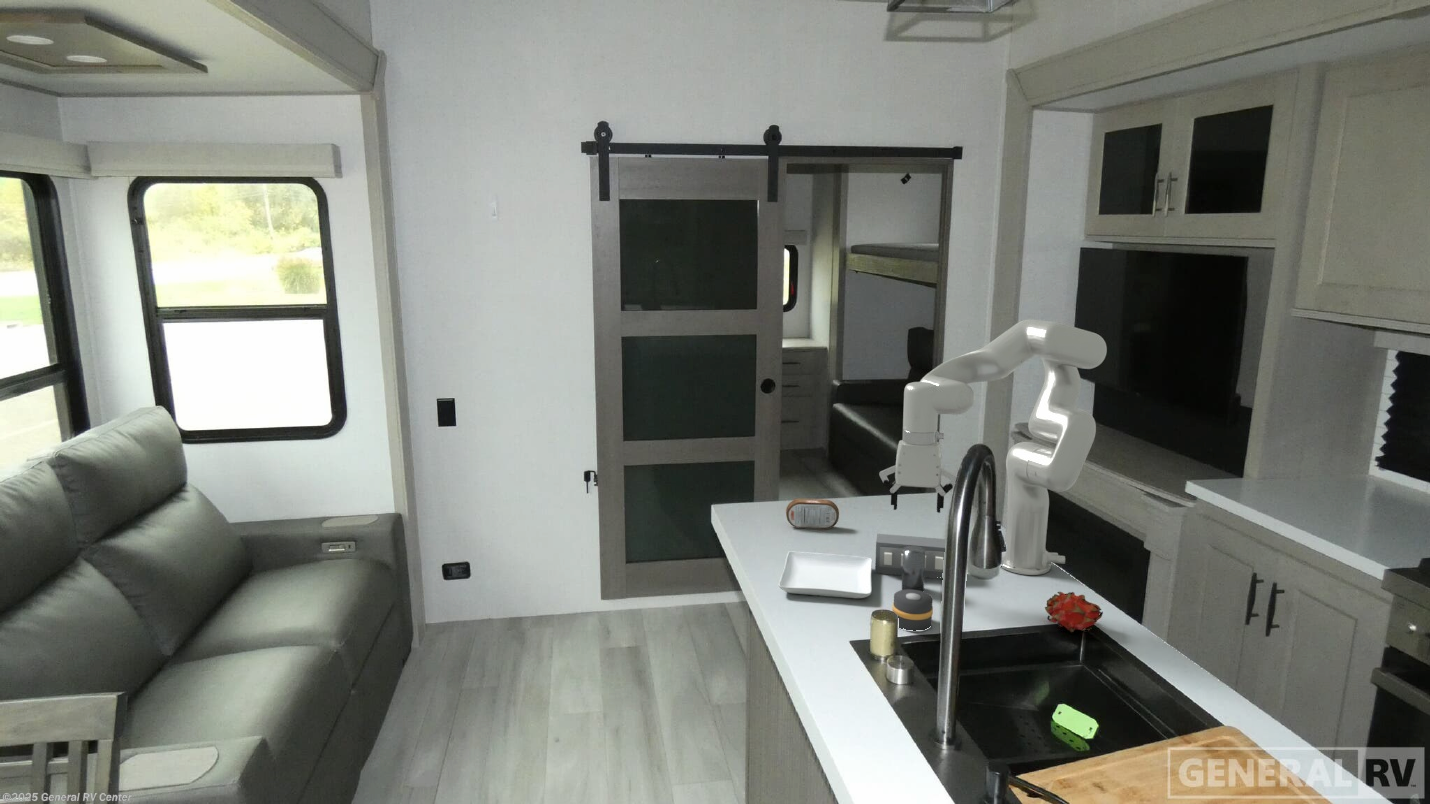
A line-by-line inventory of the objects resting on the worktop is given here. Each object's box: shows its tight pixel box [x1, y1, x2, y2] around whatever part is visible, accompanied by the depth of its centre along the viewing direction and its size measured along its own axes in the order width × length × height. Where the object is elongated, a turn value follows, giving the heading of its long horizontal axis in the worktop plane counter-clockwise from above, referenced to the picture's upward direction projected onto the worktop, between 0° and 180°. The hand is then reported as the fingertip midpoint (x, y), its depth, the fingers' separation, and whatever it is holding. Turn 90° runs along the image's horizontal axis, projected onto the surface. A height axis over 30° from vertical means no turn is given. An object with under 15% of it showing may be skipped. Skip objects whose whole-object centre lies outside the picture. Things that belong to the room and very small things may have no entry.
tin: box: [785, 498, 840, 530], centre depth 228 cm, size 15×3×8 cm, turn 84°
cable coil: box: [892, 589, 934, 631], centre depth 171 cm, size 8×8×6 cm
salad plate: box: [778, 550, 873, 599], centre depth 193 cm, size 21×21×3 cm
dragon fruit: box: [1044, 591, 1104, 633], centre depth 169 cm, size 8×8×12 cm
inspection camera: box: [901, 546, 926, 592], centre depth 187 cm, size 5×5×10 cm
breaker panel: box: [874, 533, 946, 580], centre depth 197 cm, size 18×8×8 cm, turn 76°
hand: (916, 509), depth 184 cm, fingers open, 9 cm apart
